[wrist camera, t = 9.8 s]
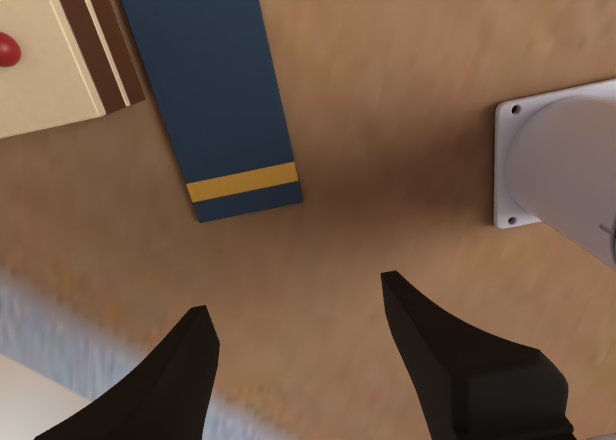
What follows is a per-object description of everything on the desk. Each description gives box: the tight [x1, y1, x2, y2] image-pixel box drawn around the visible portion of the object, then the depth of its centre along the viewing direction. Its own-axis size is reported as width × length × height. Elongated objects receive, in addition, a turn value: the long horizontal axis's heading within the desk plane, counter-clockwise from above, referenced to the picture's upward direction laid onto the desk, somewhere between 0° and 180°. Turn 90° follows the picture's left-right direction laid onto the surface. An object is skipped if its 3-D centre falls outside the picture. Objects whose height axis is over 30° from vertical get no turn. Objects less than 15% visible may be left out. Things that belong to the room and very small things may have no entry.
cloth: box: [121, 0, 303, 223], centre depth 19 cm, size 6×22×1 cm, turn 11°
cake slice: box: [0, 0, 145, 139], centre depth 16 cm, size 4×6×7 cm
